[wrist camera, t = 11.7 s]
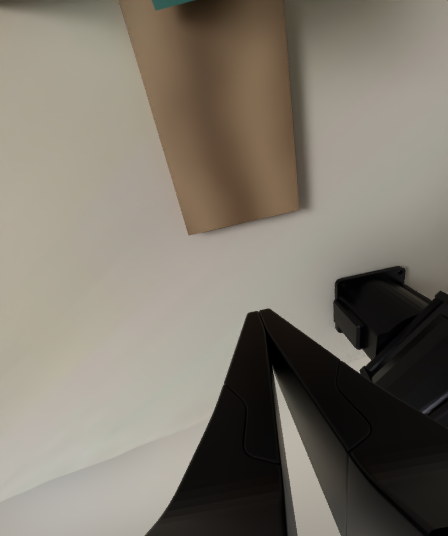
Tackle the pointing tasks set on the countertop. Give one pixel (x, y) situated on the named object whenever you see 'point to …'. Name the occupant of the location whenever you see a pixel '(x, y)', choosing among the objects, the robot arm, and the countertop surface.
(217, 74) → the walnut board
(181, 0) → the teal block
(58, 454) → the countertop surface
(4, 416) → the countertop surface
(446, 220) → the countertop surface
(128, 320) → the countertop surface
